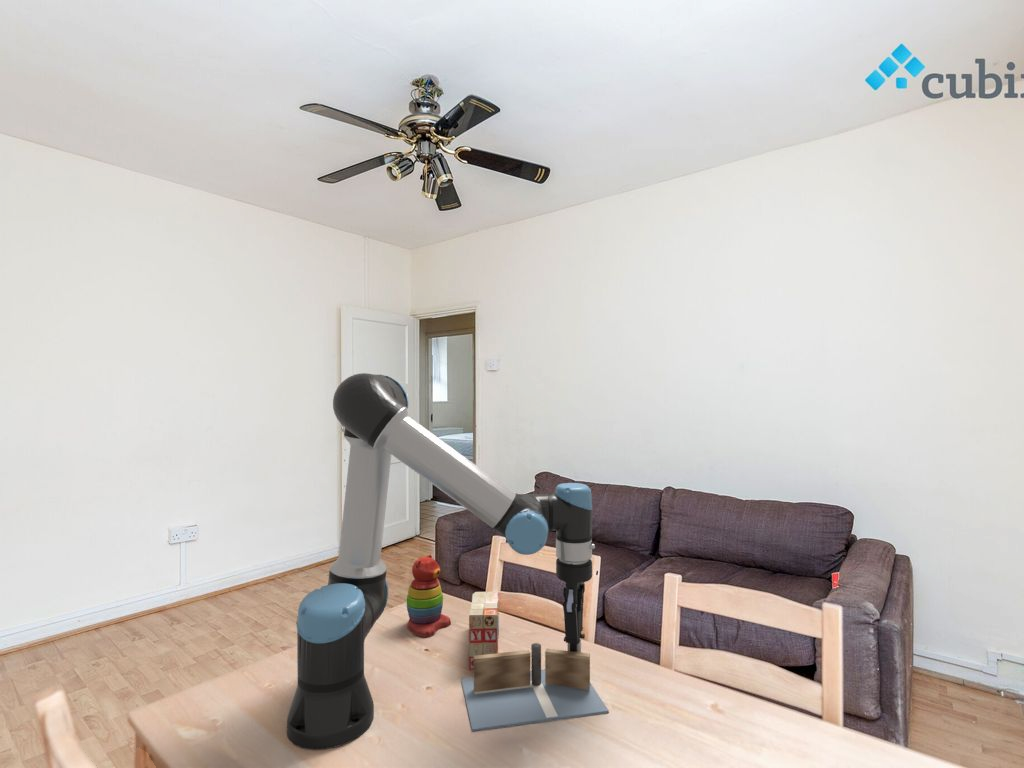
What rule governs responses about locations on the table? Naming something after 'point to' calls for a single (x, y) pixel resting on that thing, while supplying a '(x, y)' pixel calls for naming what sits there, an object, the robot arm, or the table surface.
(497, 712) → the board
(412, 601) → the stacking bear
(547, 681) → the fence folding panel
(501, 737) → the table surface
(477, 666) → the fence fixed panel
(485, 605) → the stack of blocks
